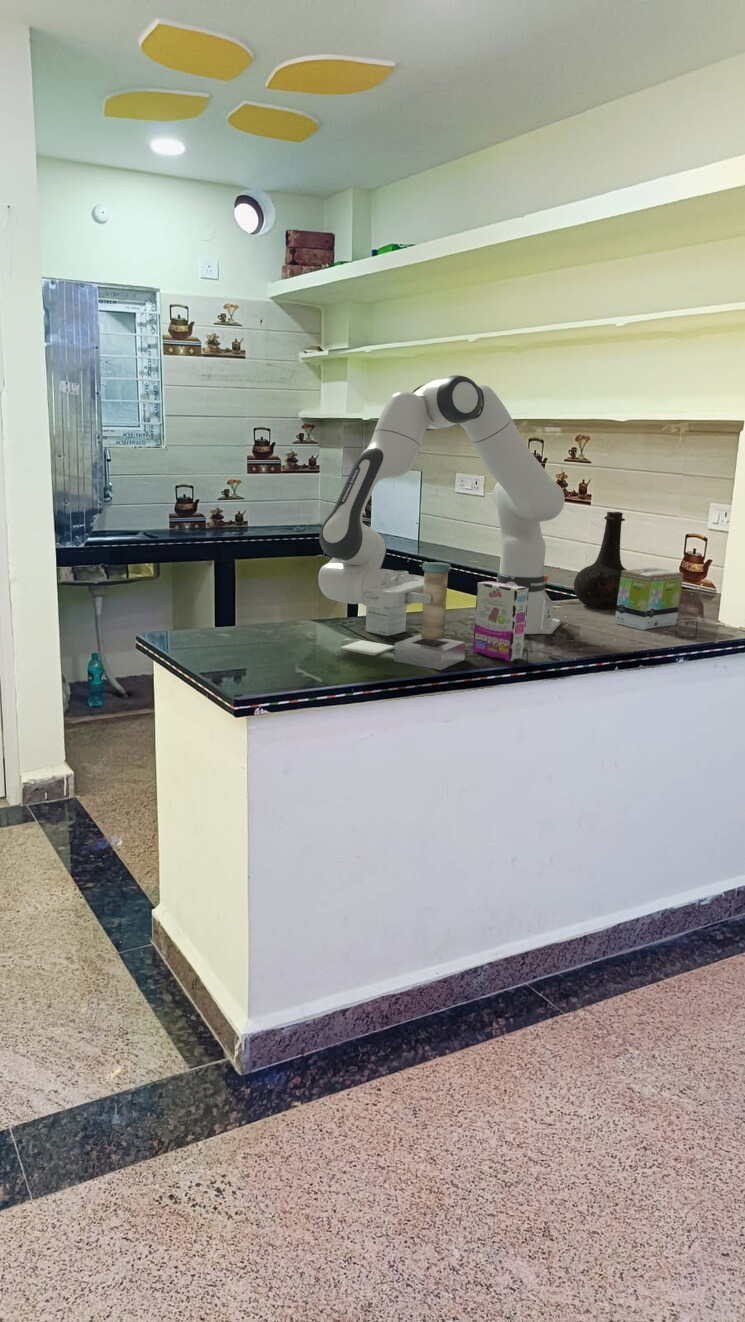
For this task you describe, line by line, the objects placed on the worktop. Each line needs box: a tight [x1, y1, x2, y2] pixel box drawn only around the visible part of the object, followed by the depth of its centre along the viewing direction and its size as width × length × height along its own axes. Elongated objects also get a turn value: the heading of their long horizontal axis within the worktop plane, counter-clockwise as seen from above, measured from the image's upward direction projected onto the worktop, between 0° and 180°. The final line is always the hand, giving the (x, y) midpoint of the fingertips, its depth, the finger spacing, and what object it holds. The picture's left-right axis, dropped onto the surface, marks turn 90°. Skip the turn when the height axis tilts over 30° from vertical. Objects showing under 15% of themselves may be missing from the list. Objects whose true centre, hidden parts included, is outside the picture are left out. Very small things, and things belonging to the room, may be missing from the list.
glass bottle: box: [573, 511, 628, 611], centre depth 268 cm, size 18×18×28 cm
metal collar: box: [393, 633, 466, 671], centre depth 202 cm, size 11×11×4 cm
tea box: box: [614, 567, 684, 631], centre depth 248 cm, size 15×10×15 cm, turn 129°
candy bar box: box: [472, 580, 529, 663], centre depth 207 cm, size 11×5×16 cm, turn 45°
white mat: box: [340, 639, 395, 656], centre depth 210 cm, size 9×9×1 cm
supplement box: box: [365, 605, 408, 637], centre depth 226 cm, size 7×7×13 cm
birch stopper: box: [420, 561, 451, 640], centre depth 199 cm, size 6×6×16 cm
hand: (438, 597), depth 198 cm, fingers closed on birch stopper, 5 cm apart
